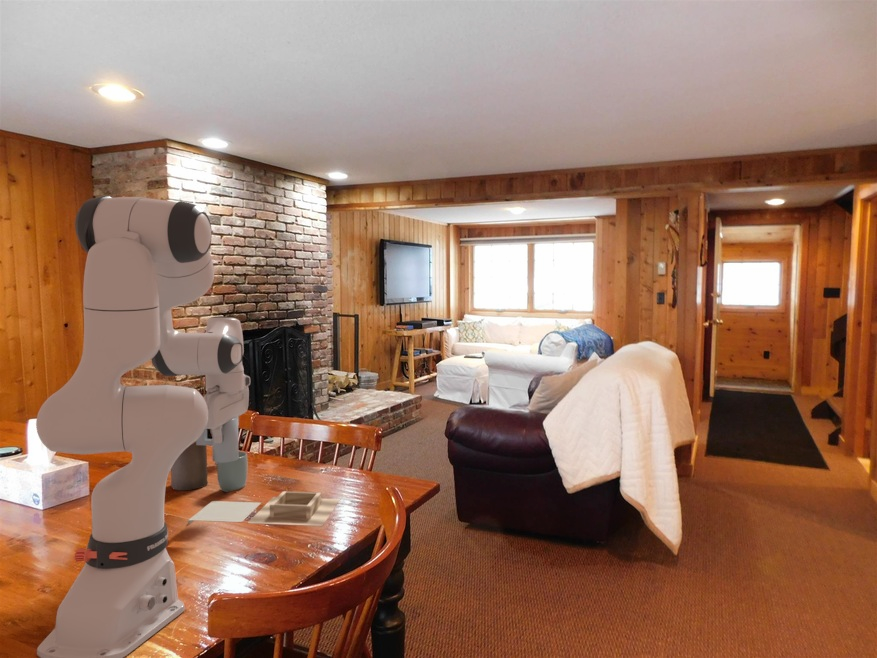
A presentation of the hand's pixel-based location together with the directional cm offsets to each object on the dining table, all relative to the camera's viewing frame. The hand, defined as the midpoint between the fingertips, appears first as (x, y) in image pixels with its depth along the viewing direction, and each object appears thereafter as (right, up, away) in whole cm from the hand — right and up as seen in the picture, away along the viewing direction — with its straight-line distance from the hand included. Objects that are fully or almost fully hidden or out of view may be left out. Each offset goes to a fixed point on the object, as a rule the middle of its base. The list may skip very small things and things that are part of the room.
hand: (225, 438), depth 146 cm
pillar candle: (-19, -18, +23) cm, 35 cm away
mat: (0, -19, +1) cm, 19 cm away
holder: (+17, -19, +2) cm, 26 cm away
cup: (-5, -18, +19) cm, 27 cm away
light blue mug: (-2, -5, 0) cm, 5 cm away
